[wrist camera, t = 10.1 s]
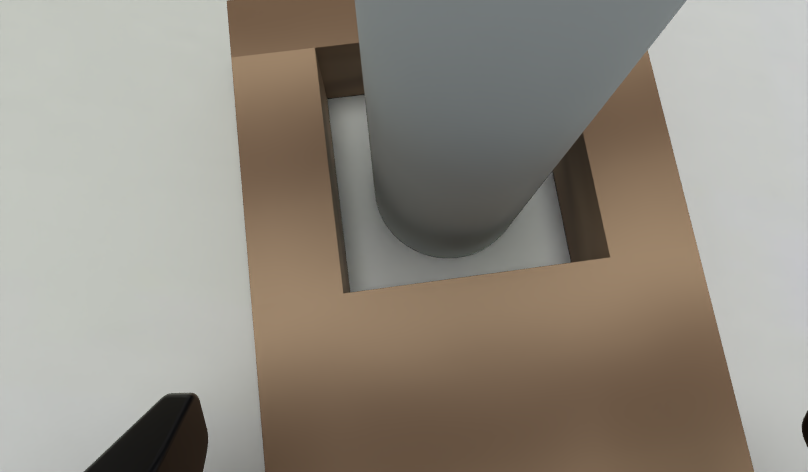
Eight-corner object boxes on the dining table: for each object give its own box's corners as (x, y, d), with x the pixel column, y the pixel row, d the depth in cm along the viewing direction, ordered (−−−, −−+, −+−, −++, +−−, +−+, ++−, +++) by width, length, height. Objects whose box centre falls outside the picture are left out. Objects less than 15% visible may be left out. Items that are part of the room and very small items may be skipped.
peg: (545, 218, 18) (1026, -270, 4) (415, 283, 17) (493, -37, 4) (476, 97, 19) (694, -631, 5) (350, 156, 18) (223, -479, 5)
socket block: (711, 546, 16) (783, 586, 13) (302, 612, 15) (281, 668, 13) (589, 18, 19) (623, -44, 17) (252, 57, 19) (226, 0, 16)
